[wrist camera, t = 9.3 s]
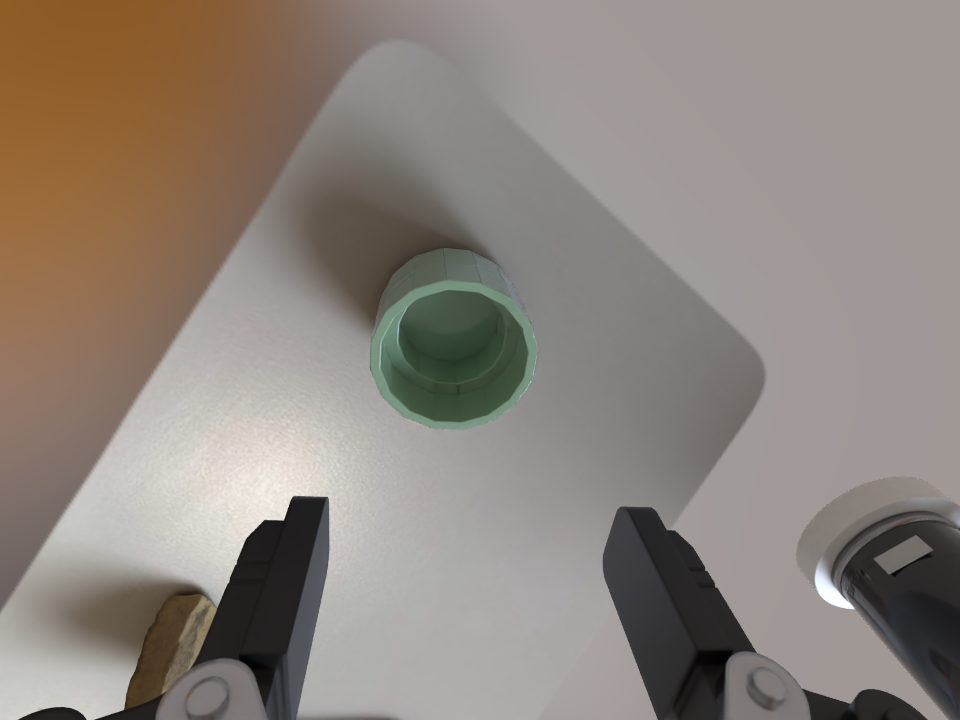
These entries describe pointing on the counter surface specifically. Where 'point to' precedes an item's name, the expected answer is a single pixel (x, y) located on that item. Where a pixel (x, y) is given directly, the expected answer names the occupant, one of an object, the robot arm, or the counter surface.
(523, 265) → the counter surface
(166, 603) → the rock
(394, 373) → the bowl
